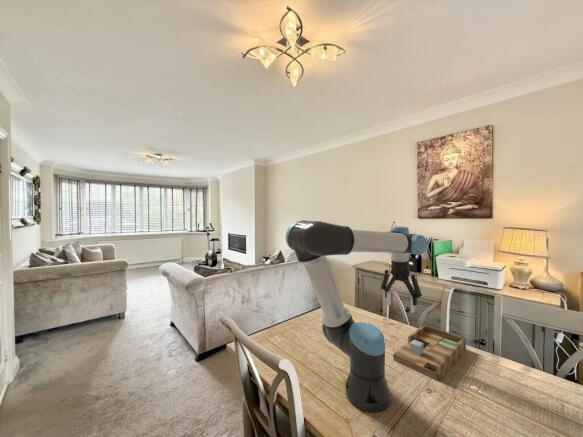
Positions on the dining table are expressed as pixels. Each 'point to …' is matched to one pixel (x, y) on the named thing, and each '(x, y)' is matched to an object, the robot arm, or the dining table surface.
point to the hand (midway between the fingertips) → (400, 308)
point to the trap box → (432, 352)
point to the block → (416, 347)
